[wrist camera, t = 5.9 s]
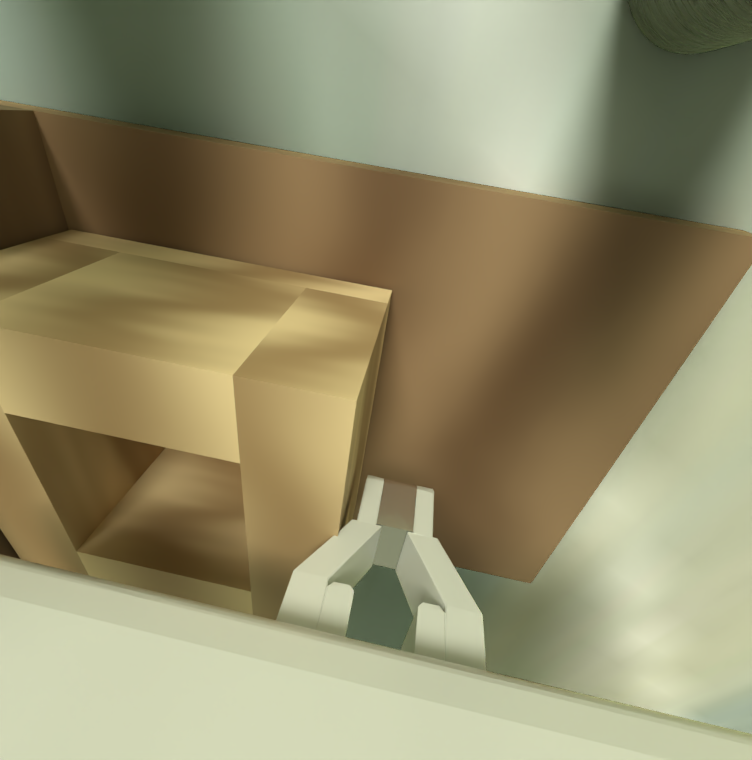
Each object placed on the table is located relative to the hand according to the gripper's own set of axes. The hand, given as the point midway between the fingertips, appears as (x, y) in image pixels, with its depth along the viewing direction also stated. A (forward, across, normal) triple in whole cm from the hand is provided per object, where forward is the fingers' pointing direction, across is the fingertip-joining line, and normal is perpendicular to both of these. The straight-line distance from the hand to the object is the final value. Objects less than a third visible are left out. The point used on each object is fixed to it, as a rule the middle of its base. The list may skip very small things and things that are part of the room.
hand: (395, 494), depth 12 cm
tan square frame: (+3, +6, 0) cm, 7 cm away
